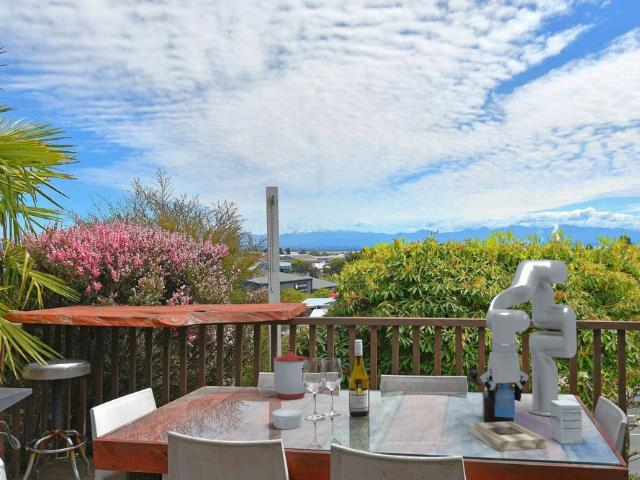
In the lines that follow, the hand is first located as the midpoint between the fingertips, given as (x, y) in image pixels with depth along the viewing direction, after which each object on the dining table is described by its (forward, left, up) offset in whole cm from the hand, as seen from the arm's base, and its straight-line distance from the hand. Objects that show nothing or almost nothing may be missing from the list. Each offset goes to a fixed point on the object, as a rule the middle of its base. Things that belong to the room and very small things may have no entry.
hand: (504, 400), depth 204 cm
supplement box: (-19, +5, -13) cm, 24 cm away
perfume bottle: (0, 0, -5) cm, 5 cm away
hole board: (0, 0, -13) cm, 13 cm away
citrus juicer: (+60, -80, -13) cm, 101 cm away
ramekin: (+69, -32, -13) cm, 77 cm away
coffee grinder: (-7, -25, -13) cm, 29 cm away
